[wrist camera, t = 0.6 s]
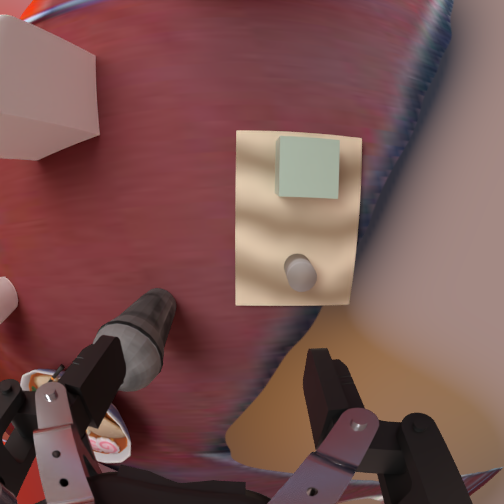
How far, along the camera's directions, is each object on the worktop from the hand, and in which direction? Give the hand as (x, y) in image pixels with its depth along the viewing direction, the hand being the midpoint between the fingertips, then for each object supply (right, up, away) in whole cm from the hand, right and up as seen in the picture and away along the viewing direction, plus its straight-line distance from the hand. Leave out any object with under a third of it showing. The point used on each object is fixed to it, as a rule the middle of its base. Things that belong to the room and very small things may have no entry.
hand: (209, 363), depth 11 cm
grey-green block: (+7, +14, +19) cm, 24 cm away
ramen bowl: (-29, -22, +30) cm, 47 cm away
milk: (-24, +24, +18) cm, 38 cm away
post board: (+7, +8, +22) cm, 24 cm away
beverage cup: (-10, -2, +25) cm, 27 cm away
